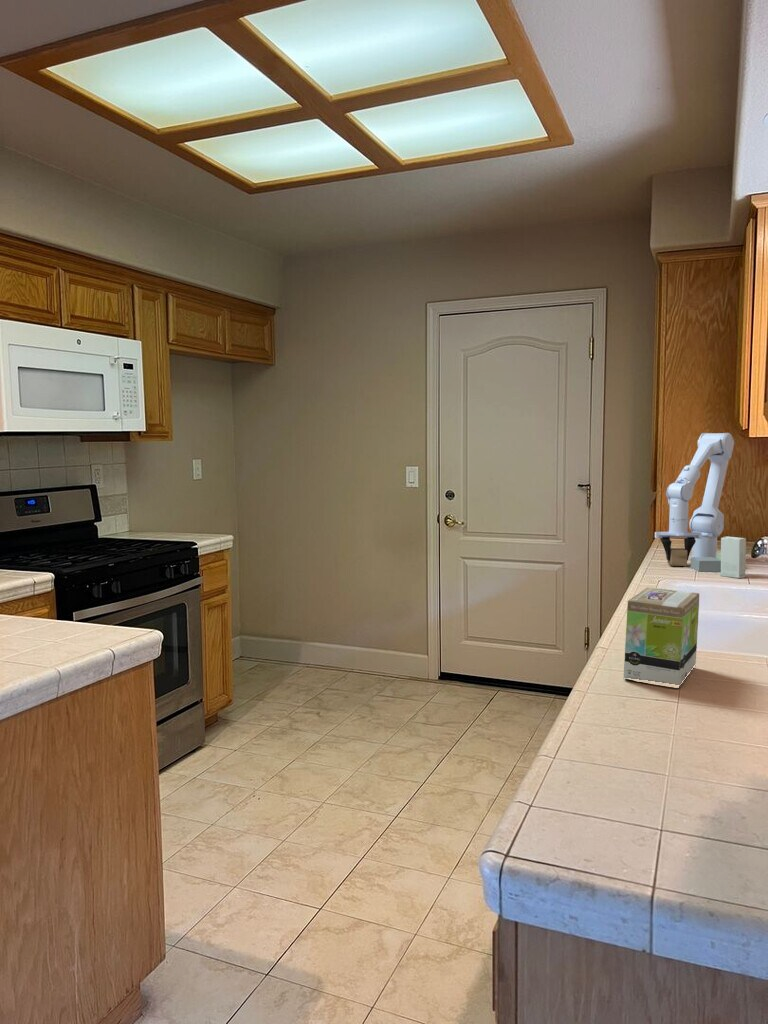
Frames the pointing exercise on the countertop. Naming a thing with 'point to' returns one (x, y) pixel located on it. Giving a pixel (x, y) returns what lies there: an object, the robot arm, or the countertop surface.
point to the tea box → (661, 635)
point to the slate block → (705, 564)
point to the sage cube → (718, 555)
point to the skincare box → (733, 557)
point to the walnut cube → (678, 557)
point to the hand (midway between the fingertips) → (677, 559)
